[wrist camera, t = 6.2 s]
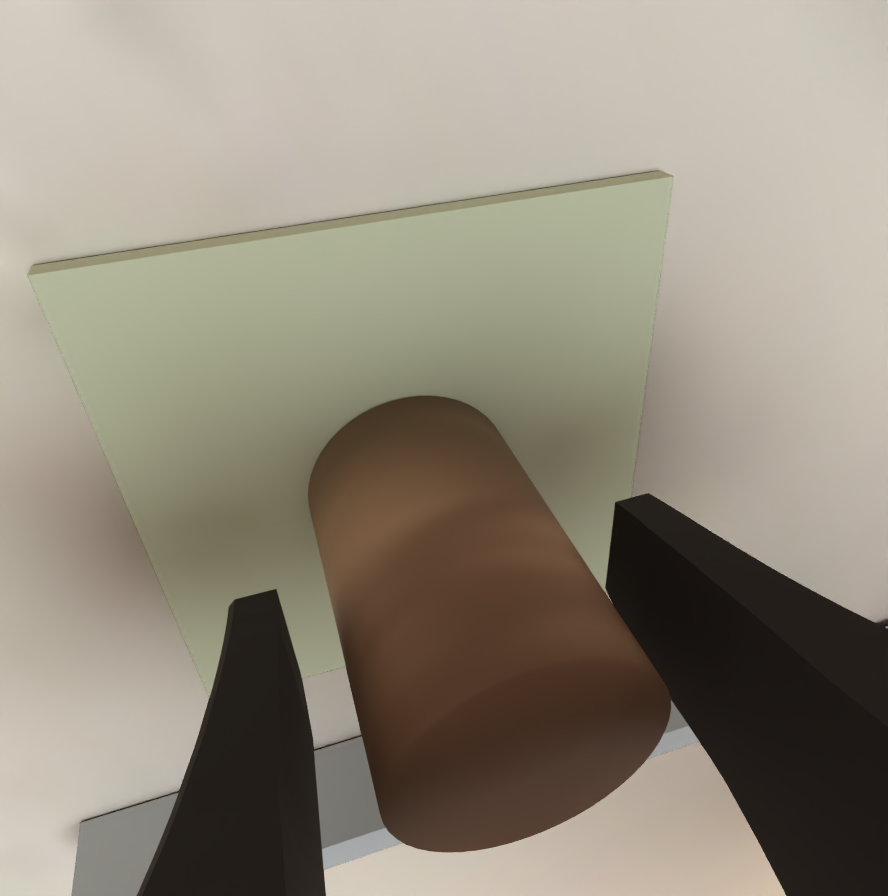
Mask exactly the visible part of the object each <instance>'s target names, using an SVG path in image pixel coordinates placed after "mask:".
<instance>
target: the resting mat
mask: <svg viewBox="0 0 888 896" xmlns="http://www.w3.org/2000/svg"><path fill="white" fill-rule="evenodd" d="M673 177H674V176H672V175H669V174H667V173H665V172H663V171H655V172H649V173H642V174H635V175H629V176H622V177H615V178H609V179H602V180H596V181H589V182H582V183H576V184H569V185H562V186H556V187H549V188H543V189H536V190H529V191H523V192H516V193H510V194H503V195H496V196H490V197H483V198H476V199H470V200H463V201H457V202H450V203H443V204H437V205H430V206H423V207H417V208H410V209H404V210H397V211H390V212H384V213H377V214H370V215H364V216H357V217H351V218H344V219H337V220H331V221H324V222H317V223H311V224H304V225H298V226H291V227H284V228H278V229H271V230H264V231H258V232H251V233H245V234H238V235H231V236H225V237H218V238H211V239H205V240H198V241H192V242H185V243H178V244H172V245H165V246H158V247H152V248H145V249H139V250H132V251H125V252H119V253H112V254H105V255H99V256H92V257H86V258H79V259H72V260H66V261H59V262H53V263H46V264H39V265H33V266H32V267H31V269H30V271H29V273H28V275H27V276H28V278H29V280H30V283H31V285H32V287H33V290H34V292H35V294H36V297H37V299H38V301H39V304H40V306H41V308H42V311H43V313H44V315H45V318H46V320H47V322H48V325H49V327H50V329H51V332H52V334H53V336H54V338H55V341H56V343H57V345H58V348H59V350H60V352H61V355H62V357H63V359H64V362H65V364H66V366H67V369H68V371H69V373H70V376H71V378H72V380H73V383H74V385H75V387H76V390H77V392H78V394H79V397H80V399H81V401H82V404H83V406H84V408H85V411H86V413H87V415H88V418H89V420H90V422H91V424H92V427H93V429H94V431H95V434H96V436H97V438H98V441H99V443H100V445H101V448H102V450H103V452H104V455H105V457H106V459H107V462H108V464H109V466H110V469H111V471H112V473H113V476H114V478H115V480H116V483H117V485H118V487H119V490H120V492H121V494H122V497H123V499H124V501H125V504H126V506H127V508H128V510H129V513H130V515H131V517H132V520H133V522H134V524H135V527H136V529H137V531H138V534H139V536H140V538H141V541H142V543H143V545H144V548H145V550H146V552H147V555H148V557H149V559H150V562H151V564H152V566H153V569H154V571H155V573H156V576H157V578H158V580H159V583H160V585H161V587H162V590H163V592H164V594H165V596H166V599H167V601H168V603H169V606H170V608H171V610H172V613H173V615H174V617H175V620H176V622H177V624H178V627H179V629H180V631H181V634H182V636H183V638H184V641H185V643H186V645H187V648H188V650H189V652H190V655H191V657H192V659H193V662H194V664H195V666H196V669H197V671H198V673H199V676H200V678H201V680H202V682H203V685H204V687H205V689H206V692H207V694H208V696H209V698H210V694H211V691H212V687H213V683H214V679H215V675H216V671H217V667H218V663H219V659H220V655H221V650H222V645H223V641H224V635H225V630H226V624H227V617H228V608H229V606H230V605H231V603H232V602H233V601H234V600H235V599H238V598H242V597H246V596H250V595H254V594H258V593H262V592H265V591H269V590H273V589H277V593H278V596H279V600H280V603H281V607H282V610H283V614H284V617H285V620H286V624H287V627H288V631H289V634H290V638H291V641H292V645H293V648H294V652H295V655H296V658H297V662H298V665H299V669H300V672H301V677H302V679H303V678H307V677H310V676H314V675H317V674H321V673H324V672H328V671H331V670H335V669H338V668H342V667H345V666H346V665H345V661H344V656H343V652H342V648H341V643H340V639H339V635H338V630H337V626H336V622H335V617H334V613H333V609H332V604H331V600H330V596H329V591H328V587H327V583H326V578H325V574H324V570H323V565H322V561H321V557H320V552H319V548H318V544H317V539H316V535H315V531H314V526H313V522H312V518H311V513H310V509H309V502H308V486H309V481H310V477H311V473H312V470H313V468H314V465H315V463H316V461H317V459H318V457H319V455H320V454H321V452H322V450H323V449H324V448H325V446H326V445H327V444H328V442H329V441H330V440H331V439H332V438H333V437H334V436H335V435H336V434H337V432H338V431H339V430H341V429H342V428H343V427H344V426H345V425H347V424H348V423H349V422H350V421H352V420H353V419H355V418H356V417H358V416H359V415H361V414H363V413H364V412H366V411H368V410H370V409H372V408H374V407H377V406H379V405H382V404H385V403H387V402H390V401H394V400H398V399H402V398H408V397H415V396H438V397H446V398H451V399H455V400H458V401H461V402H464V403H466V404H469V405H470V406H472V407H474V408H476V409H477V410H479V411H480V412H482V413H483V414H484V415H485V416H487V417H488V418H489V419H490V421H491V422H492V423H493V424H494V425H495V426H496V428H497V430H498V431H499V433H500V434H501V436H502V437H503V439H504V440H505V442H506V443H507V445H508V446H509V448H510V449H511V451H512V452H513V454H514V455H515V457H516V458H517V460H518V461H519V463H520V464H521V466H522V467H523V469H524V470H525V472H526V473H527V475H528V477H529V478H530V480H531V481H532V483H533V484H534V486H535V487H536V489H537V490H538V492H539V493H540V495H541V496H542V498H543V499H544V501H545V502H546V504H547V505H548V507H549V508H550V510H551V511H552V513H553V514H554V516H555V517H556V519H557V520H558V522H559V523H560V525H561V527H562V528H563V530H564V531H565V533H566V534H567V536H568V537H569V539H570V540H571V542H572V543H573V545H574V546H575V548H576V549H577V551H578V552H579V554H580V555H581V557H582V558H583V560H584V561H585V563H586V564H587V566H588V567H589V569H590V570H591V572H592V574H593V575H594V577H595V578H596V580H597V581H598V583H599V584H600V586H601V587H602V589H603V590H604V592H607V591H606V589H605V585H606V577H607V568H608V559H609V551H610V542H611V533H612V525H613V516H614V508H615V502H617V501H621V500H625V499H629V498H631V493H632V485H633V478H634V470H635V463H636V455H637V448H638V440H639V433H640V425H641V418H642V410H643V403H644V395H645V388H646V380H647V372H648V365H649V357H650V350H651V342H652V335H653V327H654V320H655V312H656V305H657V297H658V290H659V282H660V275H661V267H662V260H663V252H664V244H665V237H666V229H667V222H668V214H669V207H670V199H671V192H672V184H673Z"/></svg>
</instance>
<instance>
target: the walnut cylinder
mask: <svg viewBox="0 0 888 896" xmlns="http://www.w3.org/2000/svg"><path fill="white" fill-rule="evenodd" d="M308 502H309V509H310V513H311V518H312V522H313V526H314V531H315V535H316V539H317V544H318V548H319V552H320V557H321V561H322V565H323V570H324V574H325V578H326V583H327V587H328V591H329V596H330V600H331V604H332V609H333V613H334V617H335V622H336V626H337V630H338V635H339V639H340V643H341V648H342V652H343V656H344V661H345V665H346V669H347V674H348V678H349V682H350V687H351V691H352V695H353V700H354V704H355V708H356V713H357V717H358V721H359V726H360V730H361V734H362V739H363V743H364V747H365V752H366V756H367V760H368V765H369V769H370V773H371V778H372V782H373V786H374V791H375V795H376V799H377V804H378V808H379V812H380V816H381V819H382V822H383V824H384V826H385V827H386V829H387V830H388V832H389V833H390V834H391V835H393V836H394V837H395V838H396V839H397V840H399V841H401V842H403V843H404V844H406V845H409V846H412V847H415V848H417V849H422V850H427V851H434V852H465V851H475V850H481V849H487V848H492V847H496V846H500V845H504V844H508V843H512V842H515V841H518V840H521V839H524V838H527V837H530V836H533V835H535V834H538V833H540V832H543V831H545V830H547V829H550V828H552V827H554V826H556V825H559V824H561V823H563V822H565V821H566V820H568V819H570V818H572V817H574V816H576V815H578V814H579V813H581V812H583V811H585V810H586V809H588V808H590V807H591V806H593V805H594V804H596V803H597V802H599V801H600V800H602V799H603V798H605V797H606V796H607V795H609V794H610V793H611V792H613V791H614V790H615V789H617V788H618V787H619V786H620V785H621V784H623V783H624V782H625V781H626V780H627V779H628V778H629V777H631V776H632V775H633V774H634V773H635V772H636V770H637V769H638V768H639V767H640V766H641V765H642V764H643V763H644V762H645V761H646V760H647V758H648V757H649V756H650V755H651V754H652V752H653V751H654V749H655V748H656V746H657V745H658V743H659V742H660V740H661V738H662V736H663V734H664V732H665V730H666V727H667V725H668V722H669V718H670V713H671V697H670V694H669V690H668V688H667V686H666V685H665V683H664V681H663V680H662V678H661V677H660V675H659V674H658V672H657V671H656V669H655V668H654V666H653V664H652V663H651V661H650V660H649V658H648V657H647V655H646V654H645V652H644V651H643V649H642V648H641V646H640V645H639V643H638V642H637V640H636V639H635V637H634V636H633V634H632V633H631V631H630V630H629V628H628V627H627V625H626V624H625V622H624V621H623V619H622V617H621V616H620V614H619V613H618V611H617V610H616V608H615V607H614V605H613V604H612V602H611V601H610V599H609V598H608V596H607V595H606V593H605V592H604V590H603V589H602V587H601V586H600V584H599V583H598V581H597V580H596V578H595V577H594V575H593V574H592V572H591V570H590V569H589V567H588V566H587V564H586V563H585V561H584V560H583V558H582V557H581V555H580V554H579V552H578V551H577V549H576V548H575V546H574V545H573V543H572V542H571V540H570V539H569V537H568V536H567V534H566V533H565V531H564V530H563V528H562V527H561V525H560V523H559V522H558V520H557V519H556V517H555V516H554V514H553V513H552V511H551V510H550V508H549V507H548V505H547V504H546V502H545V501H544V499H543V498H542V496H541V495H540V493H539V492H538V490H537V489H536V487H535V486H534V484H533V483H532V481H531V480H530V478H529V477H528V475H527V473H526V472H525V470H524V469H523V467H522V466H521V464H520V463H519V461H518V460H517V458H516V457H515V455H514V454H513V452H512V451H511V449H510V448H509V446H508V445H507V443H506V442H505V440H504V439H503V437H502V436H501V434H500V433H499V431H498V430H497V428H496V426H495V425H494V424H493V423H492V422H491V421H490V419H489V418H488V417H487V416H485V415H484V414H483V413H482V412H480V411H479V410H477V409H476V408H474V407H472V406H470V405H469V404H466V403H464V402H461V401H458V400H455V399H451V398H446V397H438V396H415V397H408V398H402V399H398V400H394V401H390V402H387V403H385V404H382V405H379V406H377V407H374V408H372V409H370V410H368V411H366V412H364V413H363V414H361V415H359V416H358V417H356V418H355V419H353V420H352V421H350V422H349V423H348V424H347V425H345V426H344V427H343V428H342V429H341V430H339V431H338V432H337V434H336V435H335V436H334V437H333V438H332V439H331V440H330V441H329V442H328V444H327V445H326V446H325V448H324V449H323V450H322V452H321V454H320V455H319V457H318V459H317V461H316V463H315V465H314V468H313V470H312V473H311V477H310V481H309V486H308Z"/></svg>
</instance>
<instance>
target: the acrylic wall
mask: <svg viewBox="0 0 888 896" xmlns="http://www.w3.org/2000/svg"><path fill="white" fill-rule="evenodd" d="M696 742H699V740H698V739H697V737H696V736H695V734H694V733H693V731H692V730H691V728H690V727H689V725H688V724H687V722H686V721H685V720H684V718H683V717H682V715H681V714H680V712H679V711H678V709H677V708H676V706H675V705H674V703H673V702H672V700H671V713H670V718H669V722H668V725H667V727H666V730H665V732H664V734H663V736H662V738H661V740H660V742H659V743H658V745H657V746H656V748H655V749H654V751H653V752H652V754H651V755H650V756H649V757H648V758H647V759H649V758H652V757H655V756H658V755H661V754H664V753H666V752H669V751H672V750H675V749H678V748H681V747H684V746H687V745H690V744H693V743H696ZM314 758H315V770H316V782H317V794H318V806H319V819H320V831H321V844H322V856H323V868H324V870H325V869H328V868H331V867H334V866H337V865H340V864H343V863H346V862H349V861H352V860H355V859H358V858H360V857H363V856H366V855H369V854H372V853H375V852H378V851H381V850H384V849H387V848H390V847H392V846H395V845H398V844H401V843H403V842H401V841H399V840H397V839H396V838H395V837H394V836H393V835H391V834H390V833H389V832H388V830H387V829H386V827H385V826H384V824H383V822H382V819H381V816H380V812H379V808H378V804H377V799H376V795H375V791H374V786H373V782H372V778H371V773H370V769H369V765H368V760H367V756H366V752H365V747H364V743H363V739H362V736H361V737H358V738H355V739H351V740H348V741H345V742H342V743H338V744H335V745H332V746H329V747H325V748H322V749H319V750H315V751H314ZM177 796H178V793H175V794H172V795H169V796H166V797H162V798H159V799H156V800H153V801H149V802H146V803H143V804H140V805H136V806H133V807H130V808H126V809H123V810H120V811H117V812H113V813H110V814H107V815H104V816H100V817H97V818H94V819H91V820H87V821H84V822H81V823H80V830H79V838H78V847H77V855H76V863H75V871H74V879H73V888H72V896H137V894H138V891H139V889H140V887H141V884H142V882H143V880H144V878H145V875H146V873H147V871H148V868H149V866H150V864H151V861H152V859H153V857H154V854H155V852H156V850H157V847H158V845H159V842H160V840H161V837H162V835H163V832H164V830H165V827H166V825H167V822H168V820H169V817H170V815H171V812H172V809H173V807H174V804H175V801H176V799H177Z"/></svg>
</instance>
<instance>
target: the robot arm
mask: <svg viewBox="0 0 888 896" xmlns="http://www.w3.org/2000/svg"><path fill="white" fill-rule="evenodd" d="M605 589H606V591H607V593H608V595H609V597H610V599H611V601H612V603H613V605H614V607H615V608H616V610H617V611H618V613H619V614H620V616H621V617H622V619H623V621H624V622H625V624H626V625H627V627H628V628H629V630H630V631H631V633H632V634H633V636H634V637H635V639H636V640H637V642H638V643H639V645H640V646H641V648H642V649H643V651H644V652H645V654H646V655H647V657H648V658H649V660H650V661H651V663H652V664H653V666H654V668H655V669H656V671H657V672H658V674H659V675H660V677H661V678H662V680H663V681H664V683H665V685H666V686H667V688H668V690H669V694H670V697H671V700H672V702H673V703H674V705H675V706H676V708H677V709H678V711H679V712H680V714H681V715H682V717H683V718H684V720H685V721H686V722H687V724H688V725H689V727H690V728H691V730H692V731H693V733H694V734H695V736H696V737H697V739H698V740H699V742H700V743H701V745H702V746H703V748H704V749H705V750H706V752H707V753H708V755H709V756H710V758H711V759H712V761H713V763H714V764H715V766H716V768H717V769H718V771H719V772H720V774H721V776H722V777H723V779H724V780H725V782H726V784H727V785H728V787H729V789H730V791H731V793H732V794H733V796H734V798H735V800H736V802H737V803H738V805H739V807H740V809H741V811H742V813H743V814H744V816H745V818H746V820H747V822H748V823H749V825H750V827H751V829H752V831H753V833H754V834H755V836H756V838H757V840H758V842H759V844H760V846H761V847H762V849H763V851H764V853H765V855H766V857H767V859H768V861H769V863H770V865H771V867H772V869H773V871H774V872H775V874H776V876H777V878H778V880H779V882H780V884H781V886H782V888H783V890H784V892H785V894H786V896H888V626H886V627H883V626H881V625H879V624H877V623H875V622H872V621H870V620H868V619H866V618H864V617H862V616H860V615H858V614H856V613H854V612H852V611H850V610H848V609H846V608H844V607H842V606H840V605H838V604H836V603H834V602H833V601H831V600H829V599H827V598H825V597H823V596H821V595H819V594H817V593H816V592H814V591H812V590H810V589H808V588H806V587H804V586H802V585H801V584H799V583H797V582H795V581H793V580H792V579H790V578H788V577H786V576H785V575H783V574H781V573H779V572H778V571H776V570H774V569H772V568H771V567H769V566H767V565H765V564H764V563H762V562H760V561H759V560H757V559H755V558H754V557H752V556H750V555H748V554H747V553H745V552H743V551H742V550H740V549H739V548H737V547H735V546H734V545H732V544H730V543H729V542H727V541H725V540H724V539H722V538H721V537H719V536H717V535H716V534H714V533H712V532H711V531H709V530H708V529H706V528H704V527H703V526H701V525H700V524H698V523H696V522H695V521H693V520H691V519H690V518H688V517H687V516H685V515H683V514H682V513H680V512H679V511H677V510H675V509H674V508H672V507H671V506H669V505H667V504H666V503H664V502H662V501H661V500H659V499H657V498H656V497H654V496H652V495H650V494H649V493H648V494H644V495H640V496H636V497H632V498H629V499H625V500H621V501H617V502H615V508H614V516H613V525H612V533H611V542H610V551H609V559H608V568H607V577H606V585H605ZM137 896H326V893H325V881H324V868H323V856H322V844H321V831H320V819H319V806H318V794H317V782H316V770H315V758H314V746H313V736H312V731H311V725H310V720H309V714H308V709H307V703H306V698H305V693H304V687H303V682H302V677H301V672H300V669H299V665H298V662H297V658H296V655H295V652H294V648H293V645H292V641H291V638H290V634H289V631H288V627H287V624H286V620H285V617H284V614H283V610H282V607H281V603H280V600H279V596H278V593H277V589H273V590H269V591H265V592H262V593H258V594H254V595H250V596H246V597H242V598H238V599H235V600H234V601H233V602H232V603H231V605H230V606H229V608H228V617H227V624H226V630H225V635H224V641H223V645H222V650H221V655H220V659H219V663H218V667H217V671H216V675H215V679H214V683H213V687H212V691H211V694H210V698H209V701H208V704H207V708H206V711H205V715H204V718H203V722H202V725H201V728H200V732H199V735H198V738H197V741H196V745H195V748H194V751H193V753H192V756H191V759H190V762H189V765H188V768H187V770H186V773H185V776H184V779H183V782H182V784H181V787H180V790H179V793H178V796H177V799H176V801H175V804H174V807H173V809H172V812H171V815H170V817H169V820H168V822H167V825H166V827H165V830H164V832H163V835H162V837H161V840H160V842H159V845H158V847H157V850H156V852H155V854H154V857H153V859H152V861H151V864H150V866H149V868H148V871H147V873H146V875H145V878H144V880H143V882H142V884H141V887H140V889H139V891H138V894H137Z"/></svg>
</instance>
